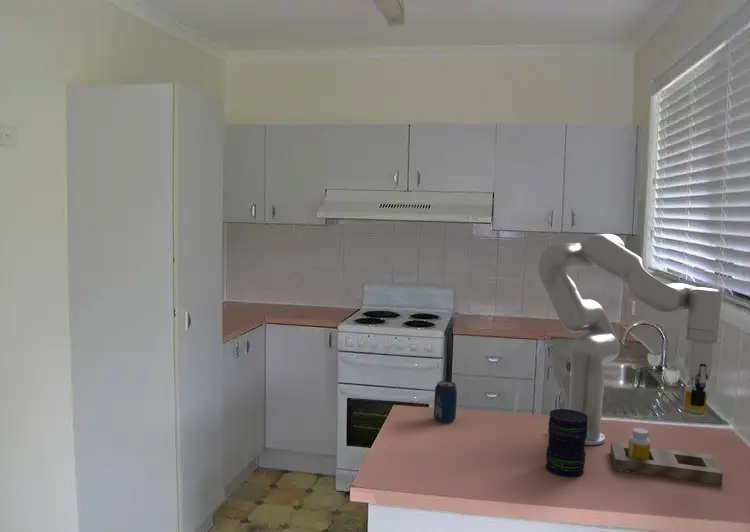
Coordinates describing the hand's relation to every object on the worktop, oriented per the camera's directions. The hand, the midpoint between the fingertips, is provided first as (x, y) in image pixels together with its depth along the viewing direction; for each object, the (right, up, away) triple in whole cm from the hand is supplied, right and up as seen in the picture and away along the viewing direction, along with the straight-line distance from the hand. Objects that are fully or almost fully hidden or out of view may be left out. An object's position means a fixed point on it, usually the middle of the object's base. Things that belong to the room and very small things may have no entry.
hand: (694, 401), depth 177 cm
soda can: (-63, -13, +34) cm, 73 cm away
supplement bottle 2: (0, -4, 0) cm, 4 cm away
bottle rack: (-7, -19, +4) cm, 20 cm away
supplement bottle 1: (-13, -18, +5) cm, 23 cm away
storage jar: (-35, -18, -1) cm, 39 cm away
